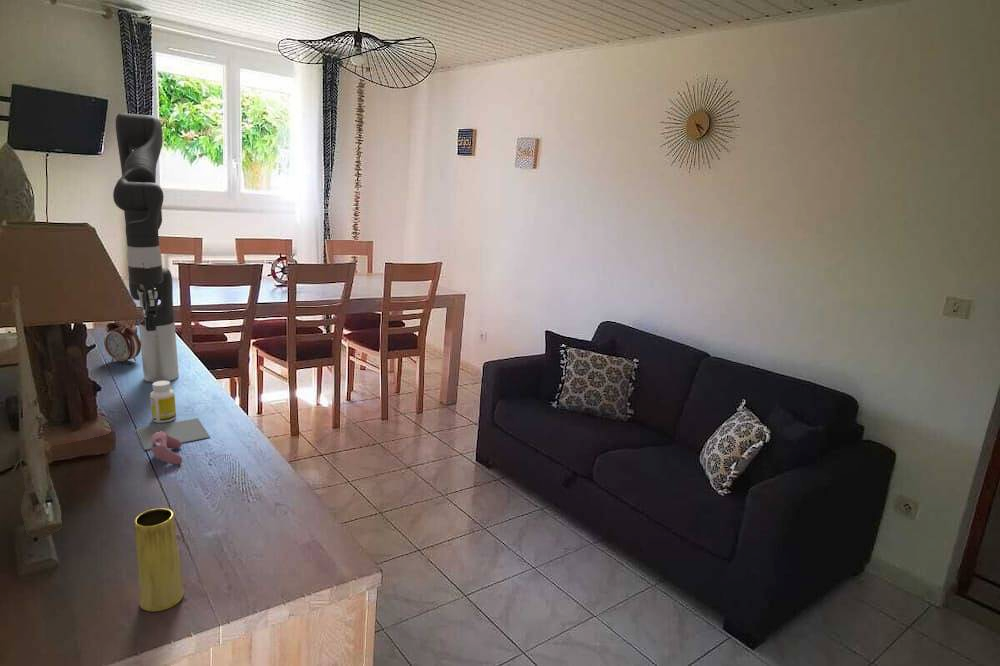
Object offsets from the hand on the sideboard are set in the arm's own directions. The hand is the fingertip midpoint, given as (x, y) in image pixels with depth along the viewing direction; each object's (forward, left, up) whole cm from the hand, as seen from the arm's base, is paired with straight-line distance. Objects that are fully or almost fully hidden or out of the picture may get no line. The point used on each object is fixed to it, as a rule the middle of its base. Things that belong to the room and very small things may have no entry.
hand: (150, 330), depth 161 cm
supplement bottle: (+9, 0, -22) cm, 23 cm away
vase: (+82, -13, -22) cm, 86 cm away
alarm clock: (-45, -2, -22) cm, 50 cm away
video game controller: (+32, -3, -22) cm, 39 cm away
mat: (+19, 0, -21) cm, 29 cm away
